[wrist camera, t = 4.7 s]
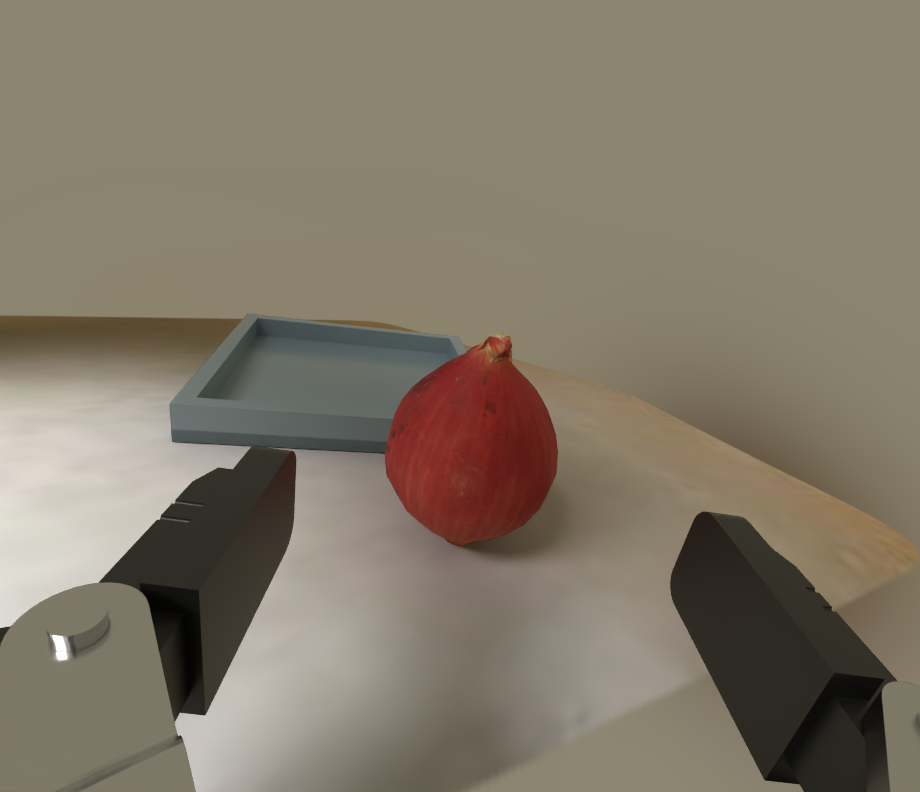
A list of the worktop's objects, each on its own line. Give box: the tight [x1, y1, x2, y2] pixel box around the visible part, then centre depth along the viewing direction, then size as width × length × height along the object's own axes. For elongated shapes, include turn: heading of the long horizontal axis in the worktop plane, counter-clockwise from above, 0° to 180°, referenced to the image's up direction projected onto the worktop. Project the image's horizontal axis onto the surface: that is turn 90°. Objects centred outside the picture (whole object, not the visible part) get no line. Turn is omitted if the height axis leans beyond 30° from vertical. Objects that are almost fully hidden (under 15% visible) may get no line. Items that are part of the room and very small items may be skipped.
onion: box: [385, 334, 558, 545], centre depth 17 cm, size 6×6×8 cm
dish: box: [170, 314, 467, 453], centre depth 29 cm, size 15×15×2 cm
